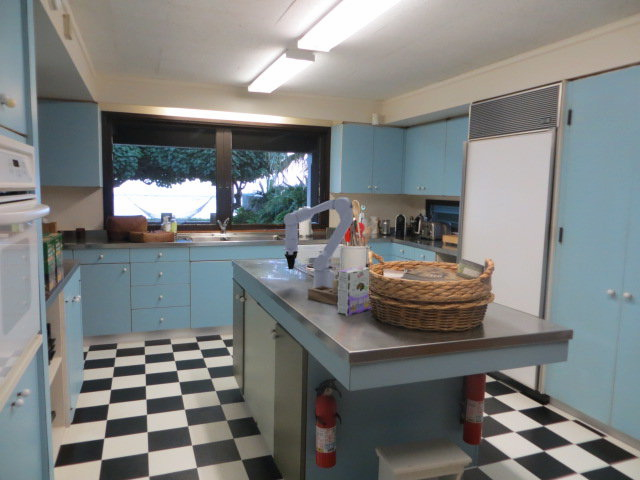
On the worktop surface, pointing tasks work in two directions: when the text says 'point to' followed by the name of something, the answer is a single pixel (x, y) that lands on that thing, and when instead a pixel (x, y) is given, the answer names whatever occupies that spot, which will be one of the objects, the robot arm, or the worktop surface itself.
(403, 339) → the worktop surface
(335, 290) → the pin
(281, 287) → the worktop surface
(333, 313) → the worktop surface
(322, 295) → the socket block
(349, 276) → the candy box
